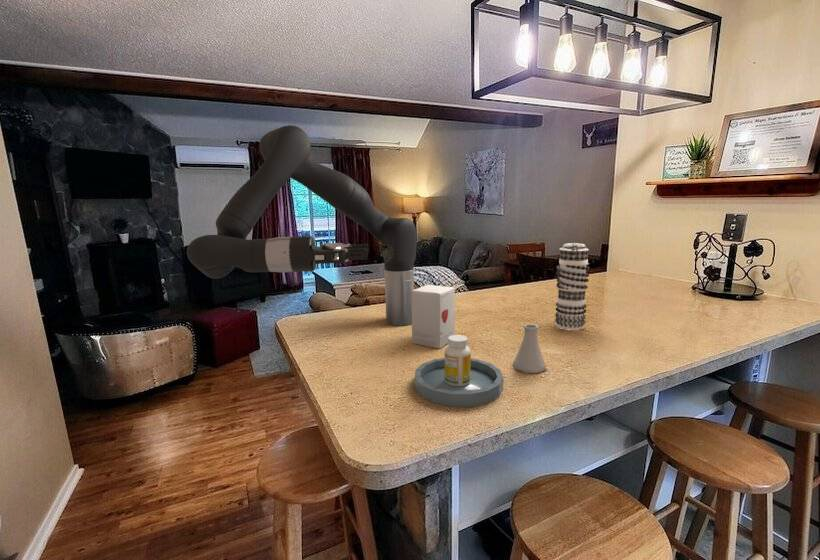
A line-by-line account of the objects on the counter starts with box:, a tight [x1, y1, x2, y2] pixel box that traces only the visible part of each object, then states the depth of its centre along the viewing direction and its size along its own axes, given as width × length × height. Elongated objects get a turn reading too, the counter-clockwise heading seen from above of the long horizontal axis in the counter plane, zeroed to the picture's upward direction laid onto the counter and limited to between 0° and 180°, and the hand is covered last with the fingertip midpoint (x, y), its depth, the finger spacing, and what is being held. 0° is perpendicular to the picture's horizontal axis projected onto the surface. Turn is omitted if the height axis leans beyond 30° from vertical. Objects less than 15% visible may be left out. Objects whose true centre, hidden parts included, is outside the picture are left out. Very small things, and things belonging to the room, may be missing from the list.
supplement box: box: [411, 284, 456, 350], centre depth 109 cm, size 9×9×15 cm
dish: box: [414, 357, 504, 408], centre depth 83 cm, size 18×18×3 cm
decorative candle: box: [554, 242, 591, 331], centre depth 118 cm, size 9×9×25 cm
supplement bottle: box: [444, 334, 472, 387], centre depth 82 cm, size 5×5×10 cm
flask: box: [512, 323, 547, 374], centre depth 91 cm, size 7×7×10 cm
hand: (367, 251), depth 86 cm, fingers open, 8 cm apart
